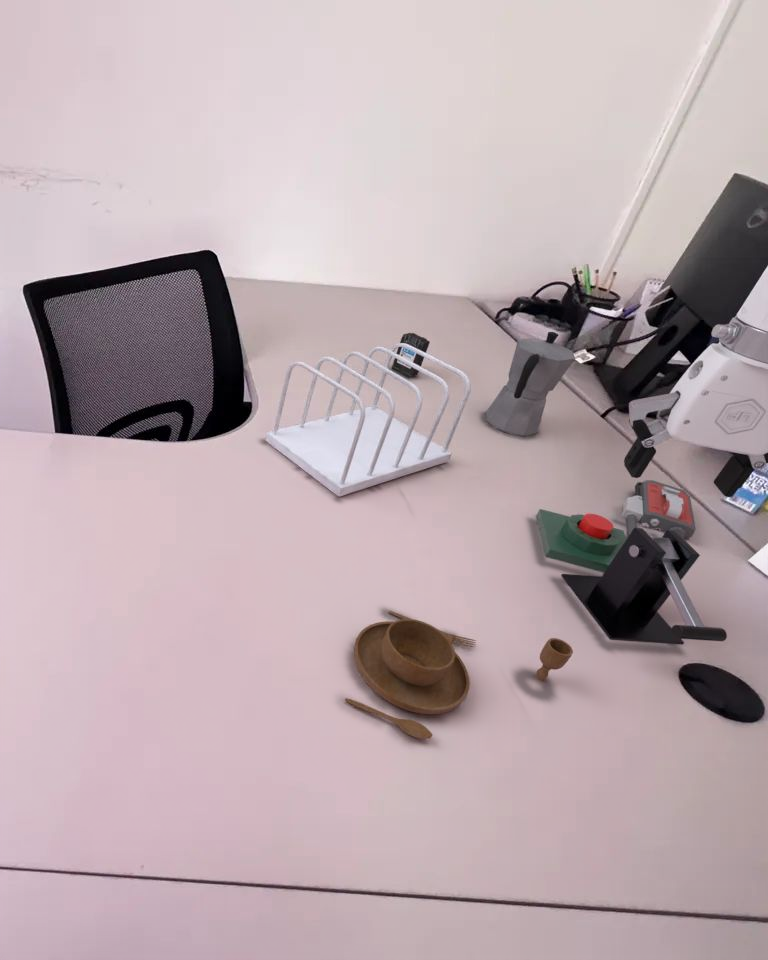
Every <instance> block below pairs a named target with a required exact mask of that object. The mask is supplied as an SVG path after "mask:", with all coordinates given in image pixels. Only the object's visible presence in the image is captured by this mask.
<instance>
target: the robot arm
mask: <svg viewBox="0 0 768 960" xmlns="http://www.w3.org/2000/svg"><path fill="white" fill-rule="evenodd" d="M711 337H713V338H717V339H718V341H719V342H718V343H714V342H713V343H711V344H710V345H708V346H707V347H706V349H704V350H703V351H702V352H701V354H700V355H699V356H697V358H696V359H695V360H694V362H692V363H691V365H690V366H689V367H688V368H687V369H686V371H685V372H684V373H683V374H682V376H681V377H680V378H679V380H678V381H677V382H676V384H675V385H674V387H672V388H671V390H670V392H669V393H665V394H659V395H655V396H654V395H653V396H648V397H644V398H638V399H633V400H631V401H630V402H628V416H629V419H628V423H629V425H630V426H631V428H632V429H631V430H633V432H634V435H635V436H636V439H635V440H634V442H633V443H632V445H631V447H630V448H629V450H628V452H627V453H626V455H625V457H624V459H623V463H624V465H623V466H624V468H625V469H626V470H627V472H628V473H629V475H630V477H631V478H635V479H638V478H641V477H642V475H643V473H644V472H645V470H646V469H647V467H648V466H649V465H650V463H651V461H652V460H653V458H654V457H655V455H656V453H657V449H656V447H655V446H657V445H660V444H662V443H664V442H666V441H669V440H670V439H674V440H676V441H678V442H681V443H685V444H689V445H694V446H699V447H703V448H710V449H714V450H720V451H724V452H730V453H733V455H732V456H731V457H729V459H728V460H727V462H726V463H725V464H724V466H723V467H722V468H721V470H720V472H719V473H718V474H717V476H716V477H715V478H714V479H713V484H714V485H715V487H716V488H717V489H718V490H719V492H720V493H721V494H722V495H723V496H724V497H727V498H733V497H734V495H736V493H737V491H738V490H739V489H741V488H742V487H743V486H744V484H745V483H746V482H747V481H748V479H749V478H750V477H751V475H752V474H753V473H754V471H755V470H762V469H763V468H765V467H766V466H767V464H768V265H767V266H766V268H765V269H764V271H763V272H762V274H761V275H760V277H759V279H758V280H757V282H756V284H755V285H754V286H753V288H752V290H751V291H750V292H749V295H748V296H747V298H746V299H745V300H744V302H743V304H742V305H741V307H740V309H739V310H738V312H737V313H736V315H735V317H734V316H733V317H732V318H731V319H730V321H729V323H726V324H720V323H718V324H716V325H714V326H713V327H712V330H711ZM653 412H657V414H656V419H655V420H652V421H650V422H648V423H647V422H646V419H647V418H646V417H647V415H648V414H649V413H653Z"/></svg>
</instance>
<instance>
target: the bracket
mask: <svg viewBox="0 0 768 960" xmlns="http://www.w3.org/2000/svg"><path fill="white" fill-rule="evenodd" d="M651 537H652V536H651V535H650V534H648V532H647V531H645V530H644V528H642V527H636V528H634V529H633V530H632V532H631V533H630V535H629V536H628V535H627V537H626V538H627V539H626V541H625V542H624V544H623V545H622V547H621V548H620V550H619V551H618V553H617V554H616V556H615V557H614V559H613V560H612V562H611V563H610V565H609V566H608V568H607V569H606V571H605V572H603V574H602V576H599V575H586V574H571V573H561V575H560V576H561V577H562V579H563V580H564V581H565V583H566V584H567V586H568V587H569V588H570V589H571V591H572V592H573V593H574V595H575V596H576V597H577V598H578V600H579V601H580V602H581V604H582V605H583V607H584V608H585V610H587V612H588V613H589V614H590V615H591V617H592V618H593V619H594V621H595V622H596V623H597V625H598V626H599V627H600V629H601V630H602V631H603V632H604V634H605V636H606V637H607V638H608V639H609V640H610V641H624V642H641V643H653V644H669V645H684V644H685V642H684V640H683V639H678V638H675V637H674V636H673V635H672V633H671V629H672V626H670V624H669V623H668V622H667V621H666V620H665V619H664V617H662V615H661V614H660V612H659V610H660V609H661V607H662V606H663V605H664V604H665V602H666V601H667V599H668V598H669V596H671V594H670V592H669V590H668V588H667V586H666V584H665V582H664V580H663V578H662V576H661V574H660V572H659V570H658V568H656V566H657V565H658V564H659V562H660V561H661V559H662V558H663V557H664V555H665V554H666V552H665V551H664V550H663V549H662V548H661V547H660V546H659V545H658V544H657V543H656V542H655V541H654V540H653V539H652V538H651ZM661 538H669V539H670V541H671V543H672V545H673V547H674V548H675V550H676V552H677V554H678V556H679V558H680V559H679V560H677V561H676V562H674V563H673V566H674V568H675V570H676V572H677V574H678V576H679V578H680V580H681V581H682V579H684V577H685V576H686V575H687V573H688V572H689V570H690V569H691V568H692V566H693V565H694V564H695V563H696V562H697V560H698V559H699V557H700V556H701V554H699V553H698V552H697V550H696V549H694V548H693V547H692V546H691V545H690V544H689V543H688V542H687V540H685V539H683V538H682V537H681V536H680V535H678V534H677V533H676V532H675V531H671V530H667V531H666V532H664V533H663V535H662V536H661Z"/></svg>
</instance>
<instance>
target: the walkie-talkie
mask: <svg viewBox="0 0 768 960" xmlns="http://www.w3.org/2000/svg"><path fill="white" fill-rule="evenodd" d="M692 505H693V504H692V498H691V496H690V495H689V494H688V493H687V492H686V491H685V490H684V489H682V488H679V487H676V486H672V485H669V484H666V483H662V482H659V481H656V480H652V479H648V480H644V481H637V483H636V484H635V485H634V495H633V496H629V497H627V498H626V499H625V501H624V502H623V504H622V513H621V517H622V518H624V519H625V522H626V524H627V525H626V526H627V527H626V528H627V529H626V530H627V537H628V536H629V535H630V533H631V532H632V530H633V529H634V528H637V523H638V524H640V526H641V528H642V527H644V528H647V529H648V528H650V529H653V530H659V532H661V533H665V532H666V531H667V530H671V531H675V532H676V533H677V534H678V535H680V536H681V537H682V538H683V539H684V540H685V541H688V540H690V538H692V537H693V535H694V534H695V531H697V527H696V523H695V517H694V511H693V506H692Z"/></svg>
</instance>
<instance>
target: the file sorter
mask: <svg viewBox="0 0 768 960" xmlns="http://www.w3.org/2000/svg"><path fill="white" fill-rule="evenodd" d="M398 347H405V348H407V349H409V350H411V351H413V352H415V353H417V354H419V355H421V356H423V357H424V359H427V360H429V361H431V362H433V363H435V364H436V365H439V366H441V367H443V368H445V369H447V370H449V371H450V372H453V373H455V374H456V375H458V376H460V377H461V378H462V380H463V382H464V383H465V392H464V395H463V396H462V399H461V402H460V405H459V407H458V410H457V413H456V415H455V417H454V420H453V422H452V425H451V428H450V430H449V433H448V435H447V437H446V440H445V443H444V446H441V445H440V444H438V443H437V442H435V441H433V440H432V439H433V437H434V435H435V433H436V431H437V427H438V426H439V424H440V421H441V419H442V416H443V414H444V412H445V410H446V407H447V404H448V403H449V399H450V387H449V385H448V383H447V382H446V381H445V380H444V379H443V378H442V377H440V376H439V375H437V374H435V373H433V372H431V371H430V370H428V369H425V368H424V367H422V366H421V367H420V366H418V365H417V364H415V363H413V362H411V361H409V360H407V359H406V358H404V357H402V356H400V355H398V354H396V353H397V352H395V351H397V350H398ZM376 352H383V353H385V354H387V358H386V359H387V360H386V362H385V365H383V364H381V363H379V362H378V361H376V360H374V359H372V356H373V355H374V353H376ZM353 356H355V357H358V358H360V359H361V360H363V361H364V364H363V367H362V370H361V373H359V372H358V371H356V370H354V369H352V368H351V367H349V366H348V365H347V362H348V360H349V358H351V357H353ZM393 358H394V359H395V358H396V359H398V360H400V361H402V362H404V363H405V364H407V365H409V366H411V367H413V368H414V369H416V370H418V371H419V373H422V374H424V375H426V376H427V377H429V378H431V379H433V380H434V381H436V382H438V383H439V384H440V385H441V387H442V389H443V392H444V397H443V400H442V403H441V406H440V408H439V410H438V413H437V415H436V418H435V420H434V422H433V424H432V426H431V429H430V431H429V433H428V435H427V436H425V435H424V434H422V433H421V432H419V431H417V430H416V429H414V428H415V425H416V423H417V420H418V418H419V415H420V412H421V410H422V407H423V395H422V393H421V391H420V389H419V387H418V386H417V385H416V384H414V383H413V382H411V381H410V380H408V379H406V378H404V377H403V376H402V375H399V374H398V373H396V372H395V371H394V370H393V371H392V370H391V369H389V367H390V365H391V362H392V359H393ZM326 361H328V362H330V363H332V364H334V365H336V366H337V367H338V368H339V371H338V373H337V376H336V380H333V378H330V377H329V376H327V375H326V374H324V373H322V372H321V371H320V370H321V367H322V365H323V363H324V362H326ZM369 364H370V365H372V366H373V367H375V368H377V369H379V370H380V371H382V375H381V378H380V381H379V384H377V383H376V382H374V381H372V380H370V379H369V378H367V377H366V374H367V371H368V368H369ZM297 366H300V367H302V368H303V369H305V370H306V371H308V372H310V373H312V374H313V376H312V380H311V382H310V386H309V390H308V394H307V398H306V401H305V405H304V408H303V412H302V416H301V420H300V423H299V424H295V425H291V426H286V427H283V428H279V427H280V422H281V419H282V413H283V409H284V405H285V401H286V396H287V391H288V387H289V384H290V379H291V376H292V371H293V369H294V368H295V367H297ZM344 372H346V373H348V374H350V375H352V376H353V377H355V378H357V379H358V383H357V385H356V389H355V392H353V391H351V390H350V389H348V388H347V387H345V386H344V385H342V384H341V381H342V377H343V374H344ZM387 375H389V376H390V377H391V378H393V379H394V380H396V381H399V382H400V383H402V384H403V385H405V386H407V387H408V388H409V389H411V390H412V391H413V392H414V394H415V395H416V400H417V401H416V402H417V403H416V407H415V410H414V412H413V416H412V418H411V421H410V424H409V426H408V425H407V424H406V423H404V422H402V421H401V420H399V419H398V418H395V417H394V415H395V410H396V405H395V401H394V398H393V396H392V395H391V393H390V392H389V391H387V389H385V388H383V386H384V384H385V380H386V377H387ZM318 378H320V379H321V380H323V381H324V382H326V383H328V384H329V385H331V386H333V391H332V393H331V394H332V395H331V397H330V401H329V404H328V407H327V411H326V414H325V417H322V418H319V419H318V418H317V419H314V420H311V421H307V422H306V419H307V417H308V413H309V412H308V411H309V408H310V405H311V401H312V398H313V394H314V391H315V387H316V383H317V379H318ZM469 378H470V377H469V376H468V375H467V374H466V373H465V372H464V371H463V370H461V369H458V368H457V367H454V366H453V365H450V364H449V363H447V362H444V361H442V360H441V359H439V358H437V357H435V356H432V355H430V354H428V353H427V352H426V353H425V352H423V351H421V350H419V349H417V348H414V347H412V346H410V345H408V344H406V343H400V342H399V343H397V344H395V345H393V346H392V347H391V348H390V349H389V348H387V347H384V346H376V347H373V348H372V349H371V350H370V351H368V353H367V354H366V355H365V354H364V353H362V352H359V351H350V352H348V353H347V354H345V356H344V357H343V359H342V361H340V360H338V359H337V358H334V357H332V356H324V357H322V358H321V359H319V360H318V361H317V363H316V365H315V368H314V367H312V366H311V365H309V364H308V363H306V362H303V361H300V360H299V361H293V362H292V363H290V365H288V367H287V370H286V374H285V378H284V380H283V381H284V382H283V386H282V391H281V395H280V399H279V400H280V401H279V405H278V409H277V413H276V417H275V423H274V426H273V430H270V431H267V432H266V436H265V442H266V443H268V444H269V445H270V446H272V447H273V448H274V449H275V450H277V451H278V452H280V453H281V454H283V456H285V457H286V458H287V459H289V460H290V461H291V462H293V463H294V464H295V465H296V466H298V467H299V468H300V469H302V470H303V471H304V472H306V473H307V474H308V475H310V476H311V477H312V478H313V479H315V480H316V481H317V482H319V483H320V484H322V485H323V486H324V487H325V488H327V489H328V490H329V491H331V492H332V493H333V494H334V495H336V496H337V497H343V496H345V495H346V496H347V495H348V494H352V493H355V492H359V491H360V490H364V489H367V488H370V487H373V486H376V485H379V484H382V483H385V482H389V481H393V480H394V479H398V478H401V477H405V476H407V475H410V474H413V473H416V472H420V471H422V470H423V471H424V470H425V469H429V468H432V467H435V466H438V465H442V464H445V463H448V462H450V459H451V457H452V451H450V450H449V449H448V448H449V446H450V444H451V441H452V439H453V437H454V434H455V432H456V429H457V426H458V424H459V423H460V422H459V421H460V419H461V416H462V414H463V412H464V409H465V408H466V404H467V401H468V399H469V397H470V393H471V389H472V388H471V387H472V385H471V380H470V379H469ZM363 383H364V384H366V385H367V386H369V387H371V388H372V389H374V390H375V391H376V394H375V396H374V400H373V403H372V405H371V406H366V407H365V404H364V402H363V400H362V399H361V398H360V397H359V396H360V392H361V390H362V386H363ZM338 391H340V392H342V393H344V394H346V395H347V396H349V397H351V398H352V402H351V405H350V408H349V411H346V412H343V413H338V414H333V415H331V414H332V411H333V407H334V403H335V399H336V397H337V393H338ZM381 394H382V395H383V396H384V397H385V398H386V399H387V401H388V404H389V413H388V412H385V410H383V409H380V408H379V407H377V406H378V403H379V399H380V396H381ZM356 405H358V407H359V408H358V409H355V408H356Z"/></svg>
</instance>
